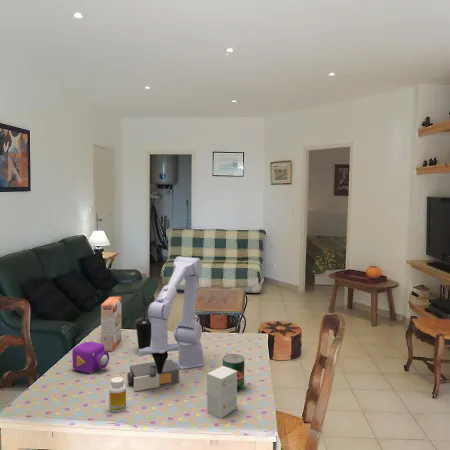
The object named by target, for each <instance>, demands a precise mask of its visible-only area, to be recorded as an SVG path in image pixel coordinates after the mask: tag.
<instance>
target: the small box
mask: <svg viewBox="0 0 450 450" xmlns="http://www.w3.org/2000/svg"><path fill="white" fill-rule="evenodd" d="M237 397H238V392H237V371H236V370H233V369H231V368H228V367H225V366H223V365H221V366H220V367H217V368H215V369H214V370H212V371H209V372H207V373H206V412H207V413H208V414H211V415H213V416H215V417H217V418H220V419H222V418H224V417H226V416H227V415H228V414H231V413H232V412H234V411H235V410H236V409H238V408H237V407H238V405H237V403H238V399H237Z"/></svg>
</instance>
